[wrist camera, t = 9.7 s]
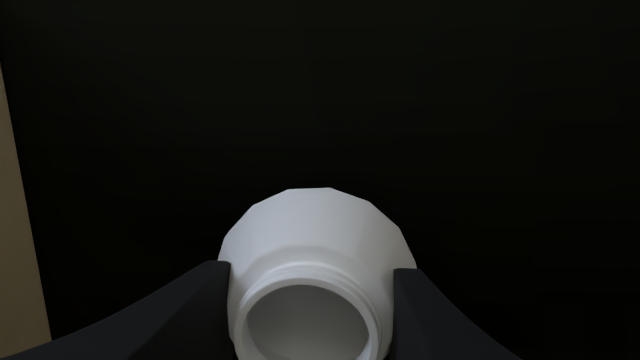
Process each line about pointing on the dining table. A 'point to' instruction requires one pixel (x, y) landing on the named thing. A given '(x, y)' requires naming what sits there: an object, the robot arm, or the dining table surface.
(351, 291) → the white jar
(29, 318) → the panel
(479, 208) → the dining table surface
